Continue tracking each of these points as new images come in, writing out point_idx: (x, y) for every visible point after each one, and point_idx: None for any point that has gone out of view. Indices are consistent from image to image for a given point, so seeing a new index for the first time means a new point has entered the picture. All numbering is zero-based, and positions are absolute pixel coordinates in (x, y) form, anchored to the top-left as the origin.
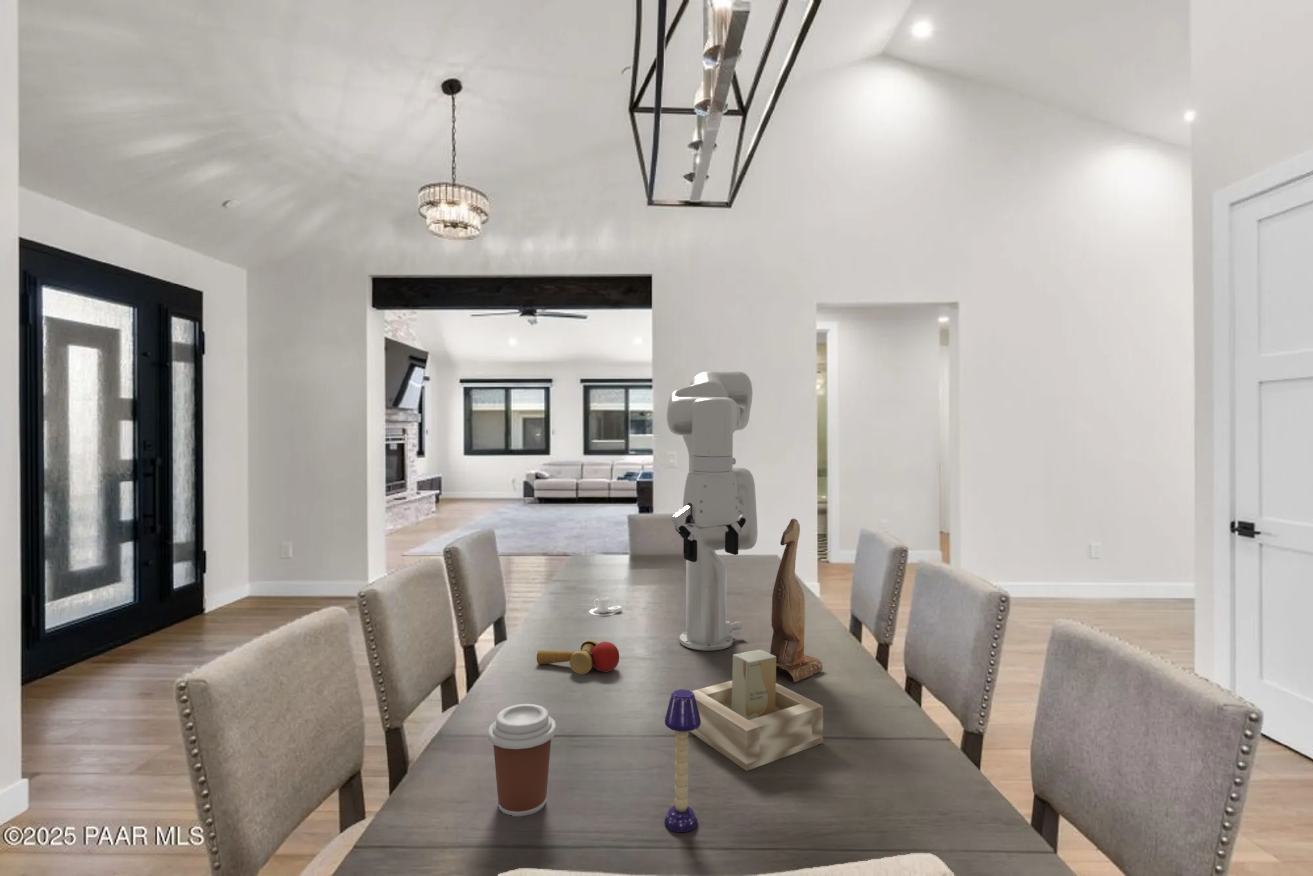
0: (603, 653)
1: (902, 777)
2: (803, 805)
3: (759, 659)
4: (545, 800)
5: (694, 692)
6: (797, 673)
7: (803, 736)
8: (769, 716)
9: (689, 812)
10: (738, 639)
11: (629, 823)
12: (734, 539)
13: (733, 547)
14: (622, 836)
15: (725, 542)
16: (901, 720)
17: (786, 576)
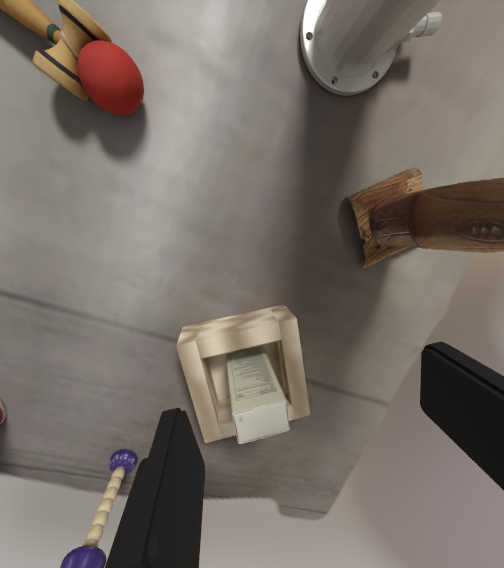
0: (98, 97)
1: (317, 443)
2: (225, 457)
3: (260, 436)
4: (3, 418)
5: (188, 348)
6: (374, 263)
7: None
8: None
9: (126, 472)
10: (405, 53)
11: (82, 452)
12: (499, 481)
13: (449, 428)
14: (73, 464)
15: (470, 381)
16: (390, 371)
17: None
